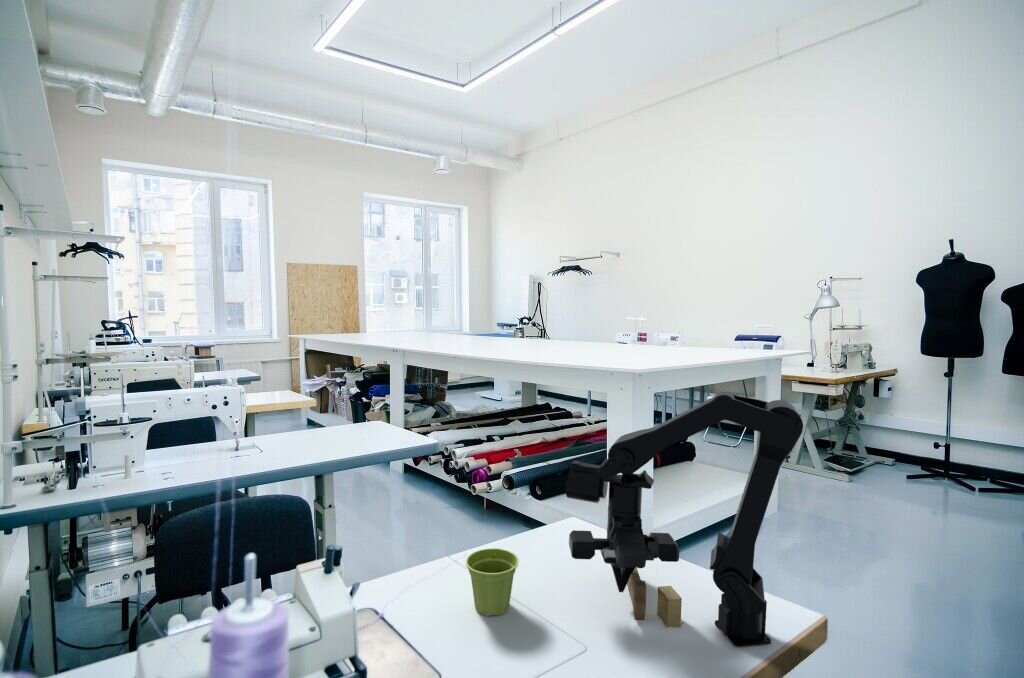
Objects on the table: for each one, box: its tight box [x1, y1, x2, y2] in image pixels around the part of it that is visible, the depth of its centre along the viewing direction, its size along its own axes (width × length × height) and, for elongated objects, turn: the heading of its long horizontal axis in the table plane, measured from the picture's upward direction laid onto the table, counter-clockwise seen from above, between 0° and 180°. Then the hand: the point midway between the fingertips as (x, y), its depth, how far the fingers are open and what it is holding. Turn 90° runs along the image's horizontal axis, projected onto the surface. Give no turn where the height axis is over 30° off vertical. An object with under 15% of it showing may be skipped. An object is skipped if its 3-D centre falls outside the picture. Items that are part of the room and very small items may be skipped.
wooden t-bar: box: [626, 567, 647, 621], centre depth 96 cm, size 14×2×6 cm, turn 176°
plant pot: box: [465, 547, 520, 617], centre depth 94 cm, size 9×9×9 cm
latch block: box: [656, 585, 683, 629], centre depth 91 cm, size 2×4×5 cm, turn 10°
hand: (620, 591), depth 95 cm, fingers closed
